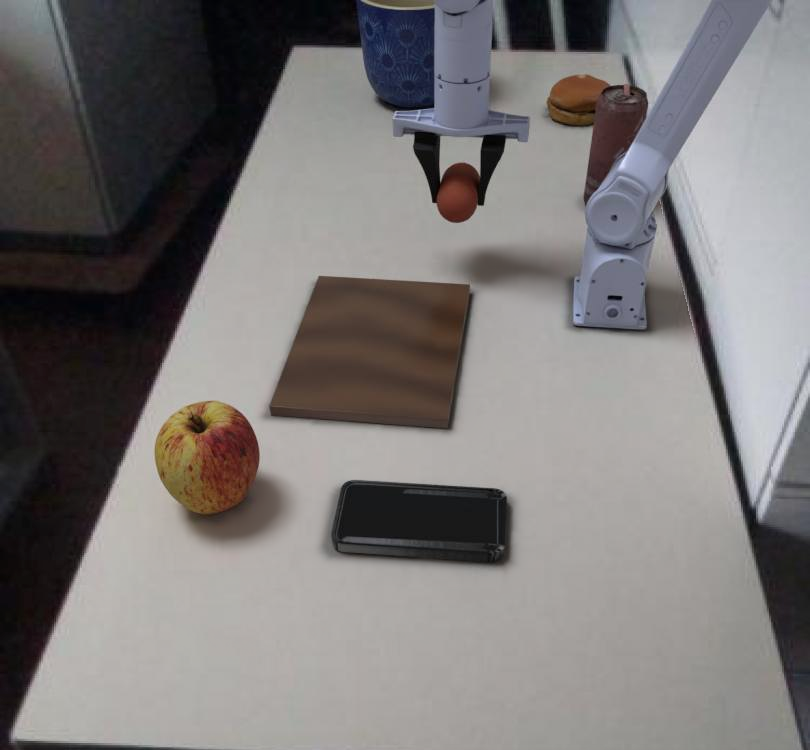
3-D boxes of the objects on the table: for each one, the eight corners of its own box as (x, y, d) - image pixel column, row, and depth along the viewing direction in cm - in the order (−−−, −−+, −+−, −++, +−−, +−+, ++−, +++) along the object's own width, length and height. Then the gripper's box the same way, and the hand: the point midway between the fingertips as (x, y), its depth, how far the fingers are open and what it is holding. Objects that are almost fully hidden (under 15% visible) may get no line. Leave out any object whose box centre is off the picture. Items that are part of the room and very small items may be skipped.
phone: (504, 554, 72) (328, 542, 73) (503, 563, 73) (330, 551, 74) (507, 488, 77) (343, 477, 78) (506, 496, 78) (344, 486, 79)
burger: (559, 130, 128) (562, 97, 124) (538, 105, 134) (541, 73, 131) (620, 122, 129) (625, 89, 126) (597, 98, 135) (601, 66, 132)
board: (447, 428, 84) (447, 419, 83) (270, 415, 86) (269, 406, 85) (469, 293, 100) (470, 284, 99) (319, 284, 102) (318, 275, 101)
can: (627, 192, 115) (647, 82, 104) (631, 216, 111) (652, 103, 100) (582, 191, 115) (597, 81, 105) (583, 214, 111) (599, 102, 101)
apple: (246, 542, 75) (226, 459, 68) (152, 526, 77) (121, 443, 69) (280, 471, 81) (264, 388, 73) (191, 457, 82) (167, 374, 75)
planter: (354, 82, 142) (347, -24, 130) (454, 72, 144) (456, -34, 132) (370, 124, 131) (364, 13, 119) (478, 113, 133) (482, 2, 121)
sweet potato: (474, 231, 96) (476, 192, 92) (434, 229, 96) (434, 190, 93) (481, 194, 101) (483, 156, 98) (443, 192, 102) (443, 154, 98)
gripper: (535, 60, 89) (524, 186, 99) (398, 56, 91) (401, 180, 101) (531, 87, 84) (521, 217, 95) (387, 82, 86) (392, 210, 96)
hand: (459, 200), depth 98 cm, fingers closed on sweet potato, 4 cm apart
